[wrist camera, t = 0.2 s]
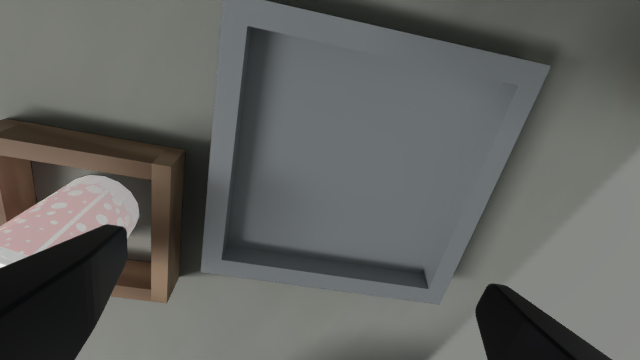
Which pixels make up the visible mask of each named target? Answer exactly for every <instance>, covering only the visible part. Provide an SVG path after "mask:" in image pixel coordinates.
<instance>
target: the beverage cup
mask: <svg viewBox="0 0 640 360" xmlns="http://www.w3.org/2000/svg"><path fill="white" fill-rule="evenodd" d="M138 218H139V209H138V203H137V202H136V200H135V198H134V197H133V195H132V193H131V192H130V191H129V190H128V189H127V188H125V187H124V186H123V185H122V184H120V183H119V182H117V181H115V180H112V179H110V178H107V177H105V176H95V175H88V176H84V177H81V178H78V179H75V180H74V181H72V182H71V183H69V184H67V185H66V186H64V187H63V188H61V189H59V190H58V191H56V192H55V193H53V194H51V195H50V196H48V197H47V198H45V199H43V200H42V201H40V202H39V203H37V204H35V205H34V206H32V207H31V208H29V209H27V210H26V211H24V212H22V213H21V214H19V215H18V216H16V217H14V218H13V219H11V220H10V221H8V222H6V223H5V224H3V225H2V226H0V268H1V267H4V266H6V265H9V264H11V263H13V262H16V261H18V260H21V259H23V258H26V257H28V256H30V255H33V254H35V253H38V252H40V251H42V250H45V249H47V248H50V247H52V246H54V245H57V244H59V243H62V242H64V241H66V240H69V239H71V238H74V237H76V236H79V235H81V234H83V233H86V232H88V231H91V230H93V229H95V228H98V227H100V226H103V225H106V224H110V225H117V226H123V227H124V228H125V229H126V231H127V238H128V237H129V235H130V234H131V232H132V230H133V229H134V227H135V226H136V223H137V220H138Z"/></svg>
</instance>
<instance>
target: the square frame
mask: <svg viewBox="0 0 640 360" xmlns="http://www.w3.org/2000/svg"><path fill="white" fill-rule="evenodd" d="M30 160H32V161H38V162H44V163H50V164H57V165H63V166H69V167H75V168H81V169H87V170H93V171H99V172H106V173H112V174H118V175H124V176H130V177H136V178H142V179H148V180H152V211H151V263H150V262H143V261H136V260H128V259H127V261H126V264H125V267H124V269H123V271H122V273H121V275H120V277H119V279H118V281H117V283H116V285H115V287H114V289H113V291H112V294H111V296H113V297H121V298H129V299H137V300H145V301H153V302H161V303H167V302H168V300H169V298H170V295H171V293H172V291H173V289H174V287H175V285H176V283H177V280H178V278H179V267H180V246H181V225H182V204H183V183H184V162H185V150H182V149H177V148H171V147H165V146H160V145H154V144H148V143H142V142H137V141H131V140H125V139H119V138H114V137H108V136H102V135H97V134H91V133H85V132H79V131H74V130H68V129H62V128H57V127H51V126H45V125H39V124H34V123H28V122H22V121H17V120H11V119H3V120H0V226H2V225H3V224H5V223H6V222H8V221H10V220H11V219H13V218H14V217H16V216H18V215H19V214H21V213H22V212H24V211H26V210H27V209H29V208H31V207H32V206H34V205H35V204H37V201H36V195H35V188H34V182H33V175H32V169H31V162H30Z"/></svg>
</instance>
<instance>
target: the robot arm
mask: <svg viewBox="0 0 640 360" xmlns="http://www.w3.org/2000/svg"><path fill="white" fill-rule="evenodd" d="M126 261H127V231H126V229H125V228H124V227H123V226H117V225H110V224H106V225H103V226H100V227H98V228H95V229H93V230H91V231H88V232H86V233H83V234H81V235H79V236H76V237H74V238H71V239H69V240H66V241H64V242H62V243H59V244H57V245H54V246H52V247H50V248H47V249H45V250H42V251H40V252H38V253H35V254H33V255H30V256H28V257H26V258H23V259H21V260H18V261H16V262H13V263H11V264H9V265H6V266H4V267H1V268H0V360H75V358H76V357H77V355H78V353H79V352H80V350H81V349H82V347H83V345H84V344H85V342H86V341H87V339H88V338H89V336H90V334H91V333H92V331H93V329H94V328H95V326H96V324H97V322H98V320H99V318H100V316H101V314H102V312H103V310H104V308H105V306H106V304H107V302H108V300H109V298H110V296H111V294H112V291H113V289H114V287H115V285H116V283H117V281H118V279H119V277H120V275H121V273H122V271H123V269H124V267H125V264H126ZM476 318H477V322H478V326H479V329H480V333H481V337H482V340H483V344H484V348H485V351H486V355H487V359H488V360H612V359H610V358H609V357H607V356H606V355H604V354H603V353H602V352H600V351H599V350H597V349H596V348H595V347H593V346H592V345H590V344H589V343H588V342H586V341H585V340H583V339H582V338H580V337H579V336H577V335H576V334H575V333H573V332H572V331H570V330H569V329H568V328H566V327H565V326H563V325H562V324H560V323H559V322H557V321H556V320H555V319H553V318H552V317H551V316H549V315H548V314H546V313H545V312H543V311H542V310H540V309H539V308H537V307H536V306H535V305H533V304H532V303H531V302H529V301H528V300H526V299H525V298H523V297H522V296H520V295H519V294H518V293H516V292H515V291H513V290H512V289H511V288H509V287H508V286H505V285H500V284H489V285H488V286H487V287H486V289H485V291H484V293H483V295H482V297H481V298H480V300H479V302H478V304H477V306H476Z"/></svg>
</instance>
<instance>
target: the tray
mask: <svg viewBox="0 0 640 360" xmlns="http://www.w3.org/2000/svg"><path fill="white" fill-rule="evenodd" d="M550 68H551V66H549V65H545V64H541V63H537V62H533V61H529V60H525V59H521V58H517V57H512V56H508V55H504V54H499V53H495V52H491V51H486V50H482V49H477V48H473V47H469V46H464V45H460V44H456V43H451V42H447V41H443V40H438V39H434V38H429V37H425V36H421V35H416V34H412V33H408V32H403V31H399V30H395V29H390V28H386V27H381V26H377V25H373V24H368V23H364V22H360V21H355V20H351V19H347V18H342V17H338V16H333V15H329V14H325V13H320V12H316V11H312V10H307V9H303V8H298V7H294V6H290V5H285V4H281V3H277V2H272V1H268V0H222V11H221V24H220V36H219V49H218V61H217V73H216V86H215V98H214V111H213V123H212V136H211V148H210V161H209V173H208V186H207V198H206V211H205V223H204V235H203V248H202V260H201V272H203V273H210V274H217V275H225V276H232V277H239V278H247V279H254V280H261V281H269V282H276V283H283V284H291V285H298V286H305V287H313V288H320V289H328V290H335V291H342V292H350V293H357V294H364V295H372V296H379V297H386V298H394V299H401V300H408V301H416V302H423V303H430V304H438V305H439V304H440V302H441V300H442V298H443V296H444V294H445V292H446V289H447V287H448V285H449V283H450V281H451V279H452V277H453V275H454V272H455V270H456V268H457V266H458V264H459V262H460V260H461V258H462V255H463V253H464V251H465V249H466V247H467V245H468V243H469V241H470V238H471V236H472V234H473V232H474V230H475V228H476V226H477V223H478V221H479V219H480V217H481V215H482V213H483V211H484V209H485V206H486V204H487V202H488V200H489V198H490V196H491V194H492V192H493V189H494V187H495V185H496V183H497V181H498V179H499V177H500V174H501V172H502V170H503V168H504V166H505V164H506V162H507V160H508V157H509V155H510V153H511V151H512V149H513V147H514V145H515V143H516V140H517V138H518V136H519V134H520V132H521V130H522V128H523V125H524V123H525V121H526V119H527V117H528V115H529V113H530V111H531V108H532V106H533V104H534V102H535V100H536V98H537V96H538V94H539V91H540V89H541V87H542V85H543V83H544V81H545V79H546V76H547V74H548V72H549V70H550Z"/></svg>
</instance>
